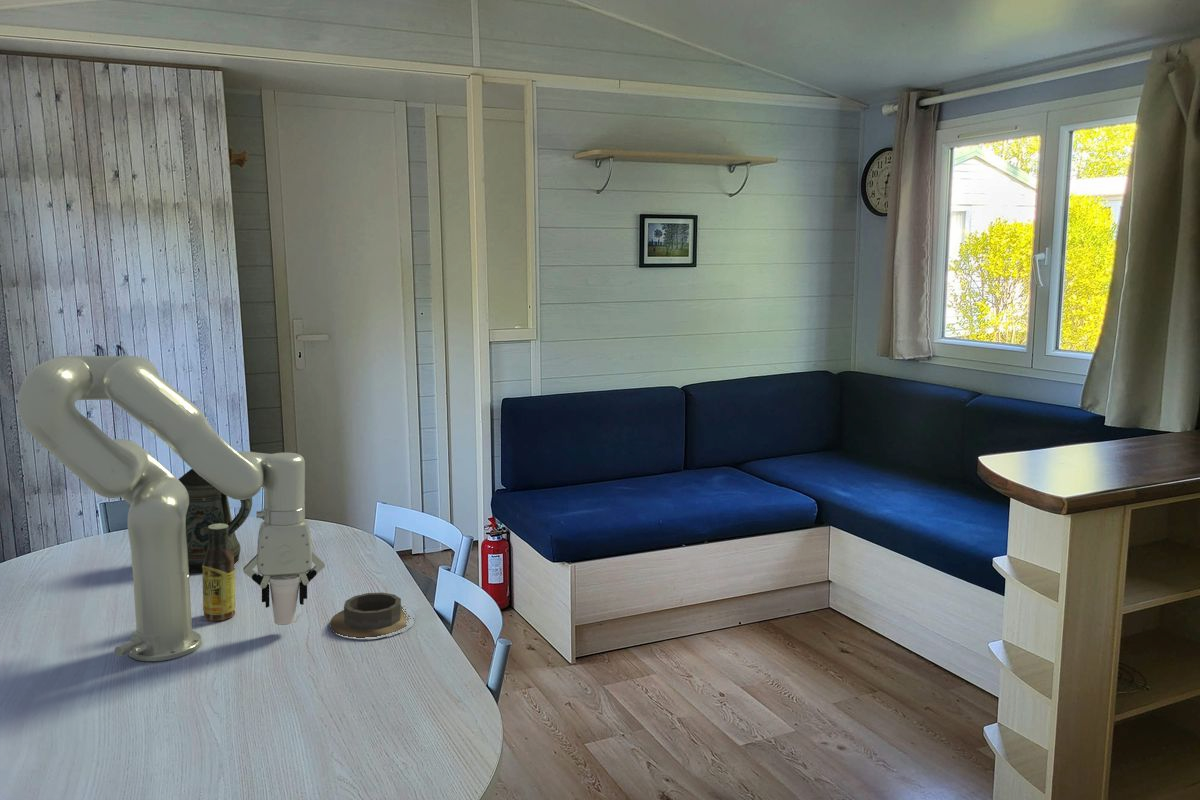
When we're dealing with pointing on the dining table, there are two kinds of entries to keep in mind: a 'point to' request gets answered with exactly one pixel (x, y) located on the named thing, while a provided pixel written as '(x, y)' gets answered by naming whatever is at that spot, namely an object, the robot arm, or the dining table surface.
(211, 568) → the sauce bottle
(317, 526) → the dining table surface
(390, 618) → the holder
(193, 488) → the beer stein
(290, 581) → the smoothie
